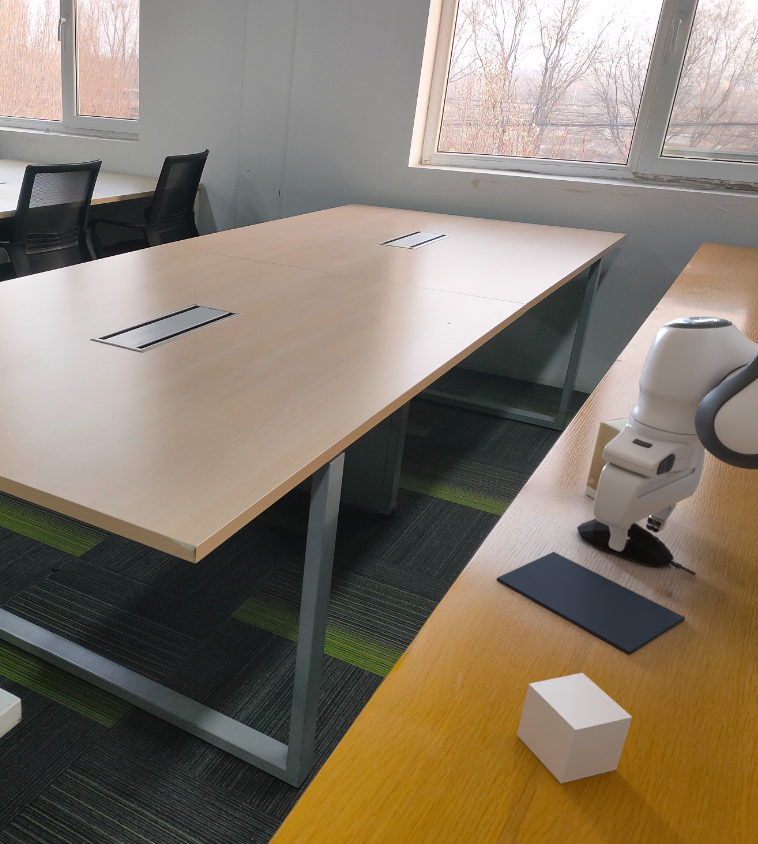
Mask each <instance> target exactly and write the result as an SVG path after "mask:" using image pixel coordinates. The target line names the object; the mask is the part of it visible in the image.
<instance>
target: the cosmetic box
mask: <svg viewBox="0 0 758 844" xmlns="http://www.w3.org/2000/svg"><path fill="white" fill-rule="evenodd" d="M629 418H630V416H629V417H622V418H615V419H608V420H602V421H601V420H600V423H599V427H598V431H597V436H596V440H595V445H594V450H593V453H592V459H591V463H590V468H589V472H588V476H587V481H586V484H585V489H584V494H585V495H587V496H588V497H590V498H592V499H593V500H595V496H596V491H597V487H598V482H599V479H600V475H601V472H602V470H603V468H604V467H605V465H606V464H607V463H608V462H607V461H605V460H603V458H602V456H603V451H604V448H605V446H606V445H607V444H608V443H609V442H610V441H612V440H613V439H614V438H615V437H616V436H617V435H618V434H619V433H620V432H621V431H622V429H623V428H624V426H625V425H626V424H628V422H629Z"/></svg>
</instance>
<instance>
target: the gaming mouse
mask: <svg viewBox="0 0 758 844" xmlns="http://www.w3.org/2000/svg"><path fill="white" fill-rule="evenodd" d="M576 529H577V533H578V534H579V536H580V538H581V539H582V540H583V541H584V542H586V543H588V544H589V545H591V546H592V547H594V548H596V549H597V550H600V551H603V552H606V553H610V554H612V555H615V556H618V557H621V558H624V559H627V560H629V561H632V562H635V563H637V564H641V565H644V566H649V567H664V566H668V565H670V566H672V567H674V568H676V569H678V570H683V571H685V572H688V573H689V574H691V575H693V576H695V575H696V574H697V572H696V571H693V570H692V569H689V568H687V567H685V566H683V565H682V564H680V563H679V562H676V561H674V555H673V553H672V552H671V550H670V549H669V547H668V546H667V545H666V544H665V543H664V542H663V541H662V540H661V539H660V538H659V537H658V536H656V535H654V534H653V533H652V532H650V531H649V530H648V529H646V528H644V527H642V526H641V525H639V524H638V523H637V522H636V523H634V524H632V525H631V527H630V529H628V534H627V536H628V537H630V541H629V543H628V547H627V548H626V549H624V550H622V551H616V550H614V549H612V548H610V547H609V540H610V536H611V534H610V529H609V526H607V525H605V524H603V523H601V522H599V521H597V520H596V519H595V518H593V519H591V520H588V521H584V522H582V523H581V524H579V525H578V526H577V527H576Z"/></svg>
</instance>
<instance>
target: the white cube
mask: <svg viewBox="0 0 758 844" xmlns="http://www.w3.org/2000/svg"><path fill="white" fill-rule="evenodd" d="M632 720H633V716H632V715H631V714H630V713H628V712H627V711H626V710H625V709H624V708H623V707H621V706H620V705H619V704H618V703H617V702H616V701H615V700H614V699H612V697H610V695H608V694H607V693H606V692H605V691H604V690H603V689H602V688H600V687H599V686H598V685H597V684H596V683H595V682H594V681H593V680H592V679H590V678H589V677H588V676H587V675H586V674H585V673H584V672H580V673H575V674H569V675H565V676H560V677H559V676H558V677H555V678H549V679H546V680H540V681H536V682H530V683H528V686H527V690H526V694H525V698H524V703H523V706H522V711H521V716H520V720H519V723H518V728H517V733H516V736H517V737H518V738H519V739H520V741H522V743H524V744H525V746H526V747H528V750H530V751H531V752H532V754H534V756H535V757H536V758H537V760H539V761H540V762H541V763H542V765H544V766H545V768H546V769H547V770H548V771H549V772H550V774H552V776H553V777H554V778H555V779H556V780H557V781H558V783H560V784H566V783H568V782H569V783H570V782H573V781H577V780H580V779H585V778H589V777H594V776H597V775H601V774H605V773H609V772H610V773H611V772H613V771H617V769H618V765H619V762H620V759H621V755H622V753H623V749H624V746H625V743H626V739H627V736H628V733H629V729H630V727H631V722H632Z"/></svg>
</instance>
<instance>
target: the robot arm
mask: <svg viewBox="0 0 758 844" xmlns="http://www.w3.org/2000/svg"><path fill="white" fill-rule="evenodd" d="M638 386H639V392H638V393H639V395H638V398H637V400H636V402H635V404H634V405H633V407H632V409H631V411H630V415H629V417H630V418H629V417H628V418H629V422H628V424H626V425H625V426H624V428H623V429H622V431H621V432H620V433H619V434H618V435H617V436H616V437H615V438H614V439H613V440H612V441H610V442H609V443H608V444H607V445H606V446H605V448H604V451H603V456H602V458H603V460H605V461H607V462H608V463H607V464H606V465H605V467H604V468H603V470H602V472H601V475H600V479H599V482H598V487H597V491H596V496H595V499H594V501H593V507H592V514H593V516H594V519H596V520H597V521H599V522H601V523H603V524H605V525H607V526H609V529H610V534H611V536H610V540H609V547H610V548H612V549H614V550H616V551H622V550H624V549H626V548H627V547H628V543H629V541H630V537H628V536H627V534H628V529H630V527H631V525H632V524H634V523H636V524H637V523H638V522H640V521H643V520H644V519H646V518H647V519H646V524H645V529H646V530H647V531H651V532H653V533H656V534H657V533H659V532H661V531H663V530H665V528H666V525H667V521H668V519H669V518H670V517H671V514H672V513H673V512H674V510H675V509H676V507H677V504H678V503H680V502H682V501H684V500H686V499H688V498H690V497H692V496H693V495H695V494H694V493H695V492H696V491H697V489H698V487H699V484H700V479H701V476H702V471H703V467H704V463H705V457H706V451H707V452H708V453H709V454H711V456H713V457H714V458H716V459H717V460H718V461H721V462H723V463H724V464H726V465H729V466H732V467H735V468H740V469H745V470H758V343H757V342H755V341H753V340H752V339H750V338H749V336H746V335H745V334H744V333H743V332H742V331H741V330H740V329H739V328H738V327H737V325H736V324H735V323H734V322H732V321H731V320H728V319H725V318H719V317H714V316H689V317H680V318H676V319H674V320H671V321H669V322H667V323H665V324H664V325H663V326H661V327H660V328H658V330H657V332H656V333H655V335H654V337H653V339H652V341H651V343H650V346H649V348H648V350H647V354H646V357H645V360H644V363H643V366H642V369H641V374H640V376H639V381H638ZM705 450H706V451H705Z"/></svg>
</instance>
